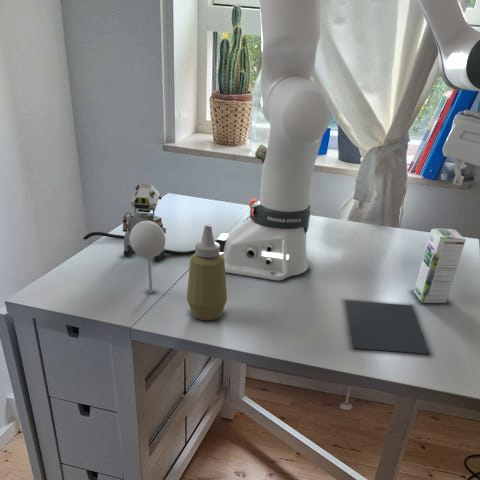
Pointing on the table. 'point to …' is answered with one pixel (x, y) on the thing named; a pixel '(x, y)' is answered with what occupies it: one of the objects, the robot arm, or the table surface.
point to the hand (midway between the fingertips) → (477, 190)
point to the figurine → (142, 214)
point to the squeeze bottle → (207, 279)
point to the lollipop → (147, 242)
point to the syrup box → (439, 265)
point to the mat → (385, 327)
